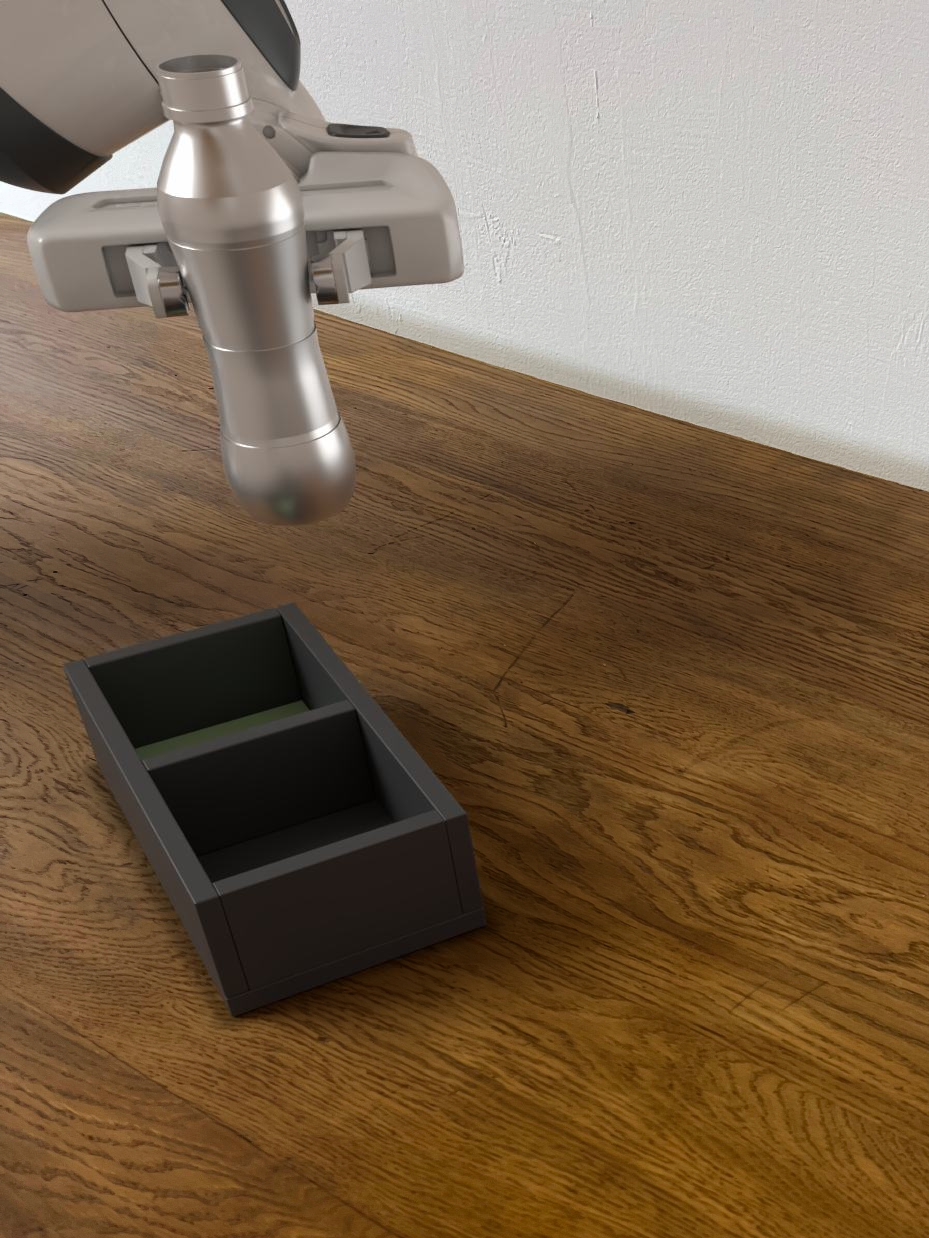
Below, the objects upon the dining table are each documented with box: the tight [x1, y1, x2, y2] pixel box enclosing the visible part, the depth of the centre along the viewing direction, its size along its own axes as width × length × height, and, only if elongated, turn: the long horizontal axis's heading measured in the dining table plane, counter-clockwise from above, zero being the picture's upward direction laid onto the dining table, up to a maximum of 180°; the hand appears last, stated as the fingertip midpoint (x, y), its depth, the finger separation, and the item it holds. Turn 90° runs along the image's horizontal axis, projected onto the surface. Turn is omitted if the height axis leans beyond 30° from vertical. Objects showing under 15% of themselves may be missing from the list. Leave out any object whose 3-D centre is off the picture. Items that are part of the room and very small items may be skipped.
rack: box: [62, 602, 487, 1018], centre depth 73 cm, size 12×22×6 cm, turn 31°
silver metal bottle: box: [156, 54, 357, 527], centre depth 74 cm, size 6×7×20 cm
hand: (250, 293), depth 73 cm, fingers closed on silver metal bottle, 6 cm apart
